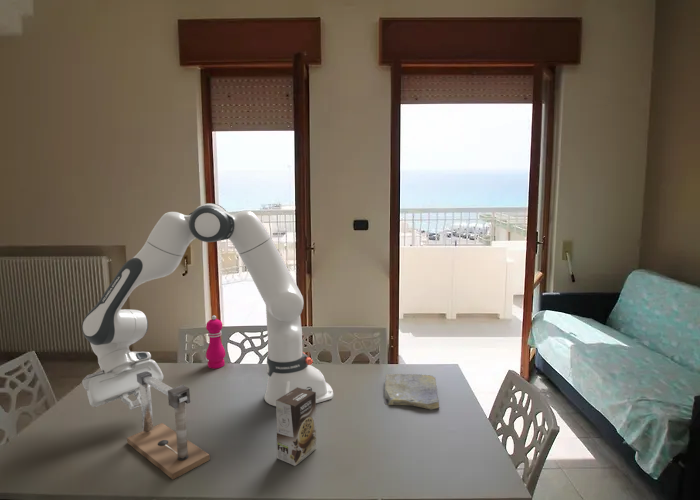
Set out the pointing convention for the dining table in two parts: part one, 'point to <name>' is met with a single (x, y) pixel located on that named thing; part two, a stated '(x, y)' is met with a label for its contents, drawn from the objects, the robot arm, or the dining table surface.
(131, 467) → the dining table surface
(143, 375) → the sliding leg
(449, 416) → the dining table surface
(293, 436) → the coffee box
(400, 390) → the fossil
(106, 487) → the dining table surface
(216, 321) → the pepper mill
